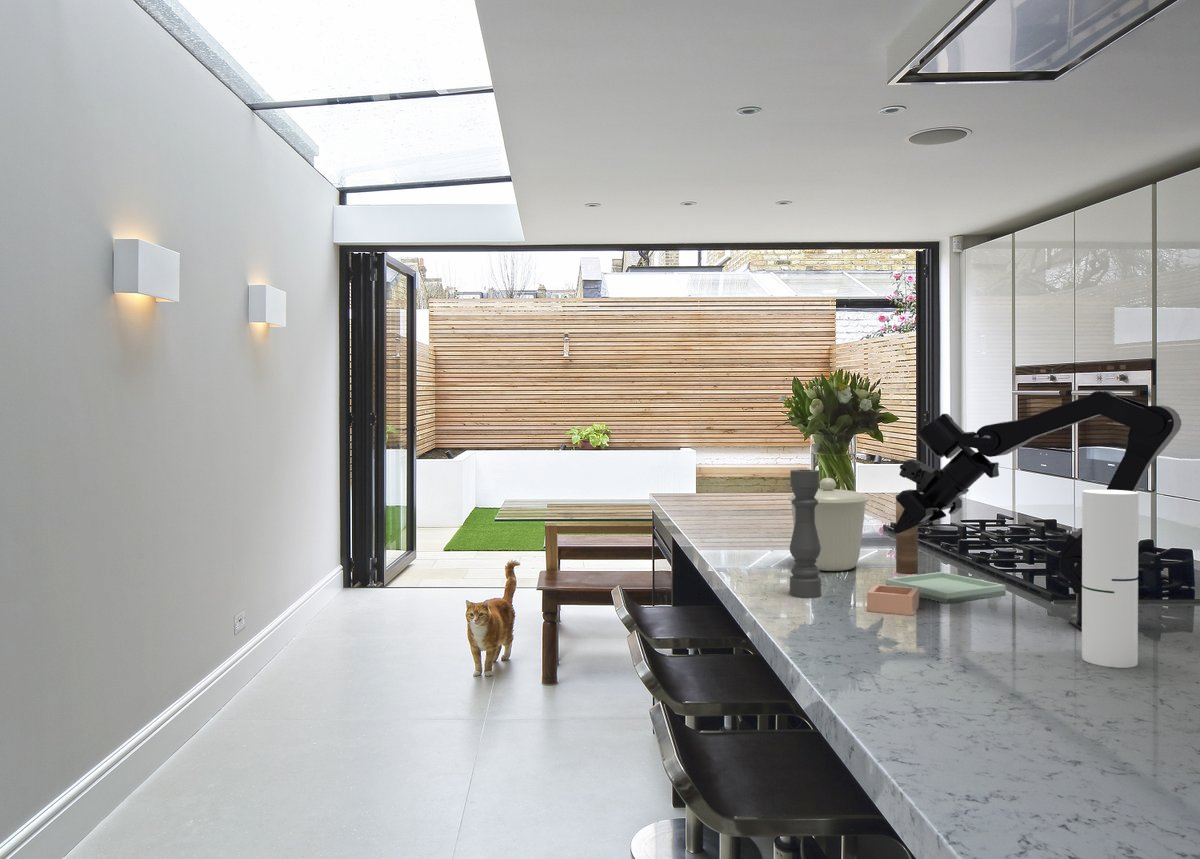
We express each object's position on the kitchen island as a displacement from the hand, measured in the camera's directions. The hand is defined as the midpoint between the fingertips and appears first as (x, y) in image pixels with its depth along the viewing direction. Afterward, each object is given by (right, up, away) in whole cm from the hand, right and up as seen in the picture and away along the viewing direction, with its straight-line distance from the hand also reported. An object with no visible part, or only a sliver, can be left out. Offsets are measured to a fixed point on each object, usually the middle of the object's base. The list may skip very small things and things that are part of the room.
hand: (900, 530), depth 171 cm
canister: (-5, -13, +34) cm, 37 cm away
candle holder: (-17, -14, +6) cm, 23 cm away
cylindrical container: (+17, -15, -42) cm, 47 cm away
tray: (+11, -13, +7) cm, 19 cm away
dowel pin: (+1, -8, -1) cm, 8 cm away
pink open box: (-4, -14, -7) cm, 16 cm away
